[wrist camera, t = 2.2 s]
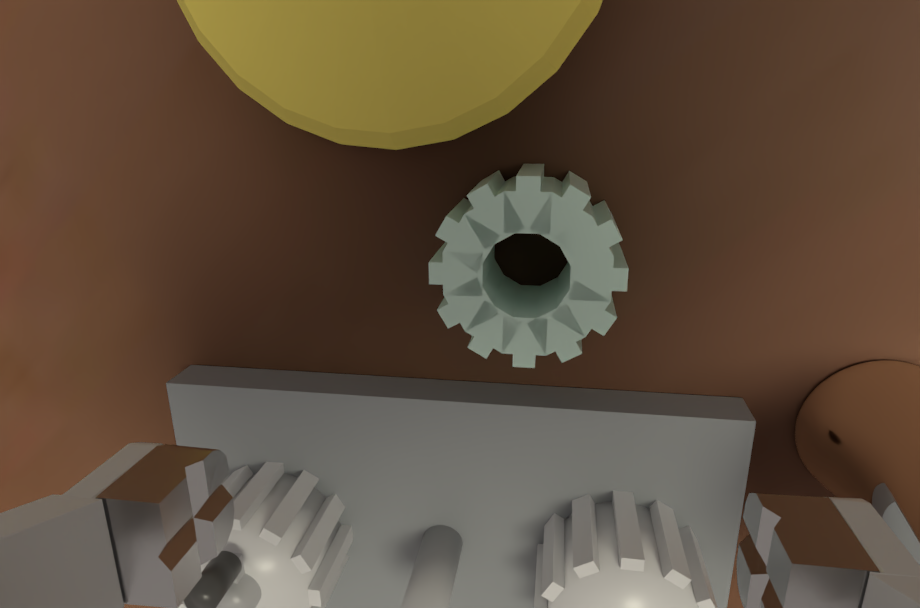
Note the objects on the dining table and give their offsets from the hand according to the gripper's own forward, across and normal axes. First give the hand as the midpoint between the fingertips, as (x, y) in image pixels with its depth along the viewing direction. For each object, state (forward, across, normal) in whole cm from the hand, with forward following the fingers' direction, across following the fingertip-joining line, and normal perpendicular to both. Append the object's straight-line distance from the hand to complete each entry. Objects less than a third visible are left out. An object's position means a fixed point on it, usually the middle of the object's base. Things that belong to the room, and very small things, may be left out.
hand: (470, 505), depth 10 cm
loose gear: (+17, 0, 0) cm, 17 cm away
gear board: (+17, +3, +13) cm, 21 cm away
